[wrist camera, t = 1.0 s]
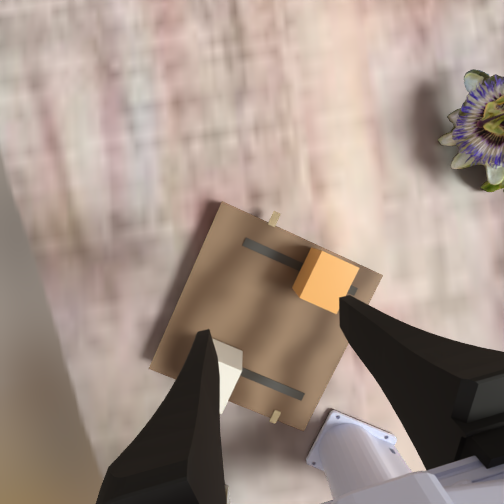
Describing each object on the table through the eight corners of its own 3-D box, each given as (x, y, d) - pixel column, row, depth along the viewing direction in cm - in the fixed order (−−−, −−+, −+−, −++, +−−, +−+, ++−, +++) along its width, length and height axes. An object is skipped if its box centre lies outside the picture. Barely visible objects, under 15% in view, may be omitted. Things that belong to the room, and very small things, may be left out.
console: (379, 261, 31) (389, 264, 29) (298, 421, 33) (302, 434, 31) (228, 191, 30) (227, 189, 27) (153, 362, 31) (147, 371, 29)
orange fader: (343, 261, 28) (359, 268, 24) (323, 301, 29) (336, 314, 25) (311, 247, 28) (322, 250, 24) (292, 287, 28) (299, 297, 24)
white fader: (242, 351, 29) (242, 371, 25) (224, 388, 29) (221, 414, 25) (210, 337, 29) (204, 355, 25) (193, 375, 29) (184, 399, 25)
